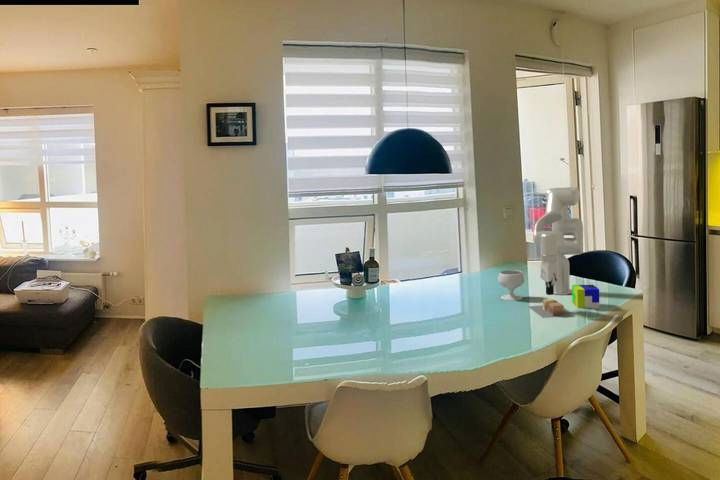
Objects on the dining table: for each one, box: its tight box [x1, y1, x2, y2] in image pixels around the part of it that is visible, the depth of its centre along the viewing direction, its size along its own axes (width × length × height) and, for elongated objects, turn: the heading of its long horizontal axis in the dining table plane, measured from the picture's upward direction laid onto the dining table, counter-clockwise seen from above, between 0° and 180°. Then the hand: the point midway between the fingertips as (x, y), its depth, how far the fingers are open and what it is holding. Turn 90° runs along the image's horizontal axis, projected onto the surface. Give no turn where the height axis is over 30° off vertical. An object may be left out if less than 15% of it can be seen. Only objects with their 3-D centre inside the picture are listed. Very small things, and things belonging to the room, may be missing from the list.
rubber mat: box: [527, 304, 577, 319], centre depth 221 cm, size 20×16×1 cm
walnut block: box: [542, 298, 565, 316], centre depth 218 cm, size 5×5×12 cm
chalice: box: [497, 269, 525, 301], centre depth 249 cm, size 14×14×15 cm
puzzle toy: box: [571, 284, 600, 310], centre depth 226 cm, size 10×10×10 cm
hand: (549, 294), depth 221 cm, fingers closed
